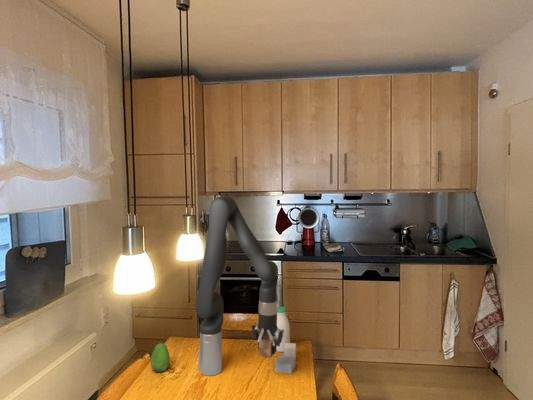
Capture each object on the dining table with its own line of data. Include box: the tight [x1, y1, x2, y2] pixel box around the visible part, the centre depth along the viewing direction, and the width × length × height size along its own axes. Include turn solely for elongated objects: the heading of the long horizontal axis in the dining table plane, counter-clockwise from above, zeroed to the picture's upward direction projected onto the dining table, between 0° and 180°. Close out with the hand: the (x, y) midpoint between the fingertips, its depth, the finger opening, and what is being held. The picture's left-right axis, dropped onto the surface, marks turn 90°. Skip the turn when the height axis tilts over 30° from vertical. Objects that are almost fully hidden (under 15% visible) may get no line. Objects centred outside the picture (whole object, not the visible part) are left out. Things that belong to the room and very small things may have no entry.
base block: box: [274, 354, 297, 375], centre depth 150 cm, size 7×7×4 cm
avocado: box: [150, 342, 171, 373], centre depth 149 cm, size 8×8×12 cm
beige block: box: [283, 342, 297, 360], centre depth 158 cm, size 5×5×6 cm
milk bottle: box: [275, 306, 291, 353], centre depth 167 cm, size 8×8×20 cm
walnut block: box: [258, 336, 276, 359], centre depth 142 cm, size 5×5×6 cm
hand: (267, 351), depth 142 cm, fingers closed on walnut block, 5 cm apart
